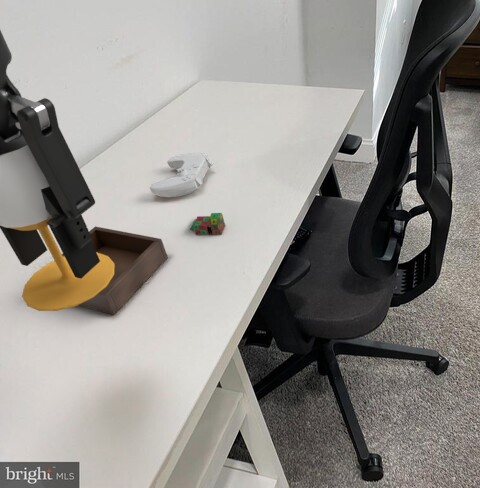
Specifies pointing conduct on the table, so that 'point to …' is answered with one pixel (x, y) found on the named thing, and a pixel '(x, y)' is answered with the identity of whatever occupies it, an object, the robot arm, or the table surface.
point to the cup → (43, 236)
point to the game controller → (183, 175)
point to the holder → (124, 265)
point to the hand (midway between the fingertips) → (60, 262)
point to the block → (208, 224)
